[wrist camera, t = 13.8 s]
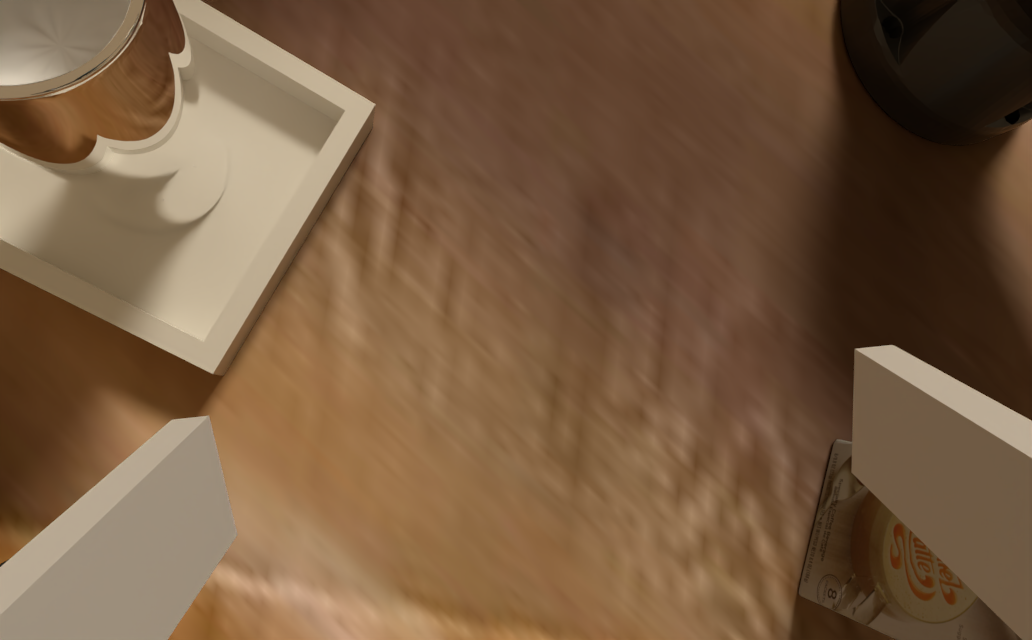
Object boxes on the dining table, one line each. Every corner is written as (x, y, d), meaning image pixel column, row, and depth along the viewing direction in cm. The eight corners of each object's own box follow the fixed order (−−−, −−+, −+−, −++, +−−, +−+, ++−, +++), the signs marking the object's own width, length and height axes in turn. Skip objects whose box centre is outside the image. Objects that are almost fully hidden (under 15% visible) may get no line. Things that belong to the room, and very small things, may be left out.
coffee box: (829, 434, 39) (1149, 460, 24) (919, 466, 41) (1279, 511, 25) (793, 597, 38) (1112, 740, 22) (889, 625, 39) (1252, 778, 23)
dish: (103, -32, 32) (81, -71, 29) (372, 127, 34) (375, 104, 32) (-86, 221, 29) (-129, 204, 26) (223, 375, 32) (212, 374, 29)
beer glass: (41, 206, 30) (-243, 27, 15) (109, 66, 31) (-93, -221, 16) (203, 265, 31) (85, 152, 17) (262, 129, 32) (200, -86, 18)
